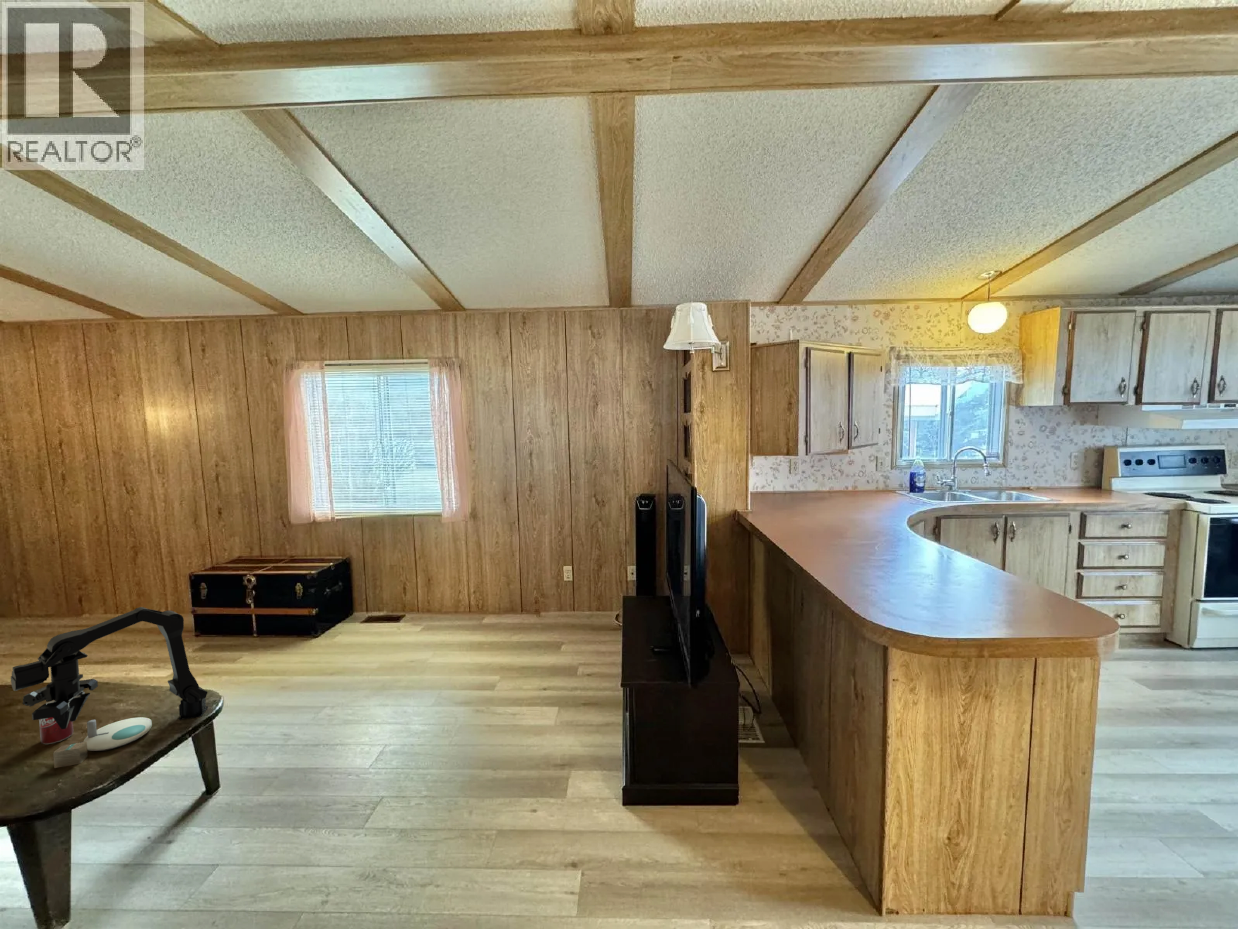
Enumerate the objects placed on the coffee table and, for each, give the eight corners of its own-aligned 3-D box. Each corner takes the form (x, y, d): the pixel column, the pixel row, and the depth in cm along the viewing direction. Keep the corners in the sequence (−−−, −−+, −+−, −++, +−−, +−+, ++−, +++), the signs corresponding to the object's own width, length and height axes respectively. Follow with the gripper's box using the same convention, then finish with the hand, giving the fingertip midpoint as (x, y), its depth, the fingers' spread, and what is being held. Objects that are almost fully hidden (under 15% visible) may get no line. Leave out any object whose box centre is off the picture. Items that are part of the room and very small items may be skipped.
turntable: (115, 722, 173) (114, 704, 173) (164, 720, 174) (163, 703, 174) (68, 751, 157) (67, 732, 157) (122, 749, 158) (121, 730, 158)
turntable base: (153, 723, 174) (153, 721, 174) (133, 745, 162) (133, 743, 162) (90, 733, 168) (89, 731, 168) (63, 757, 156) (63, 755, 156)
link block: (87, 756, 157) (86, 741, 156) (80, 763, 153) (79, 748, 153) (62, 761, 154) (61, 745, 154) (54, 768, 151) (53, 752, 151)
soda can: (51, 746, 161) (48, 711, 160) (34, 743, 163) (32, 708, 162) (79, 733, 168) (77, 699, 167) (63, 730, 170) (61, 696, 169)
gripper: (51, 666, 158) (54, 713, 159) (4, 696, 140) (8, 748, 141) (97, 661, 162) (100, 707, 163) (57, 689, 144) (61, 740, 145)
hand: (68, 724), depth 153 cm, fingers open, 4 cm apart
